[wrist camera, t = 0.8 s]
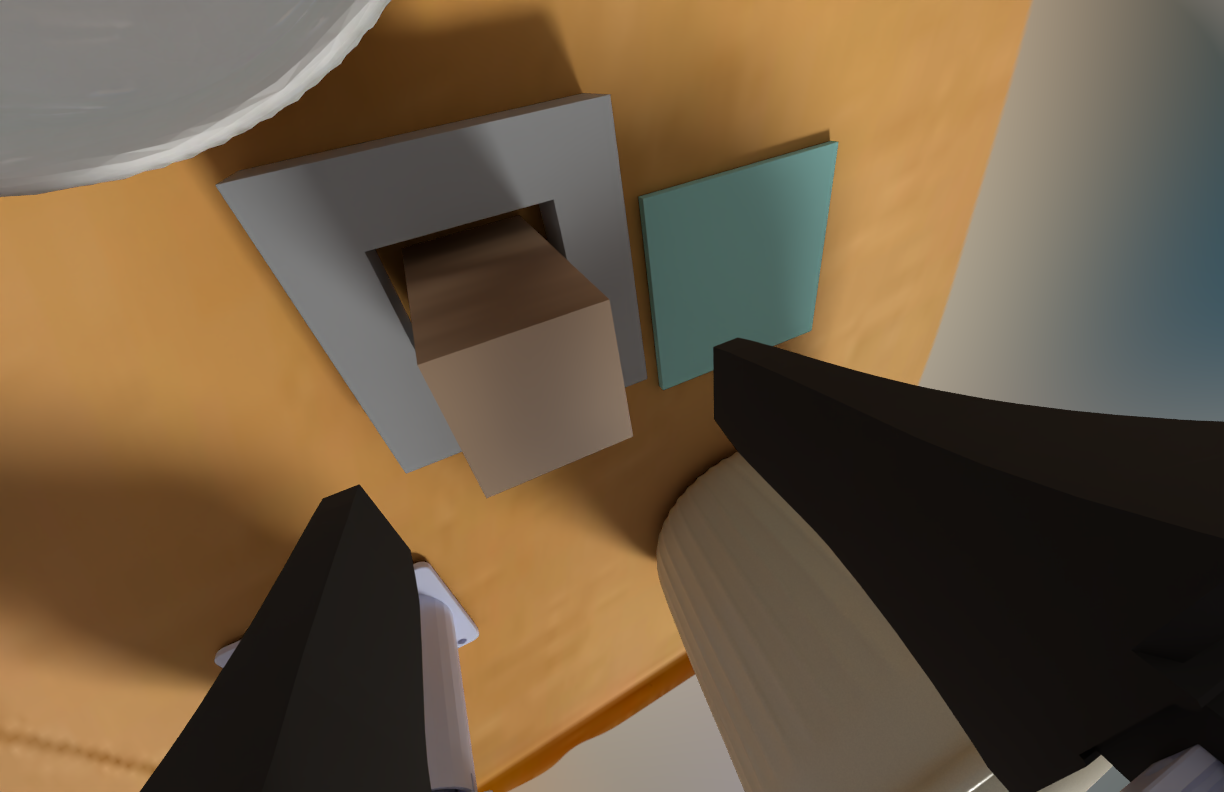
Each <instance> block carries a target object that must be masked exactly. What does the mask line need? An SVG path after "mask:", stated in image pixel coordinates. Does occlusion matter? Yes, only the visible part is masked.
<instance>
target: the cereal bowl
mask: <svg viewBox="0 0 1224 792" xmlns="http://www.w3.org/2000/svg"><path fill="white" fill-rule="evenodd" d="M390 1H391V0H0V197H5V196H21V195H36V194H42V193H47V192H52V191H57V190H63V189H68V188H73V187H78V186H85V185H93V184H97V183H101V182H108V181H115V180H121V179H126V178H129V177H131V176H134V175H136V174H139V173H141V172H144V171H149V170H154V169H159V168H164V167H166V166H168V165H170V164H171V163H174V162H178V161H182V160H186V159H190V158H193V157H194V156H196V155H198V154H199V153H201V152H203V151H205V150H207V149H209V148H212V147H216V146H219V145H223V144H225V143H226V142H227V141H228V140H230V139H231V138H232V137H234V136H237V135H239V134H242V133H244V132H245V131H247V130H249V129H251V128H253V127H254V126H255V125H256V124H258V123H259V122H261V121H264V120H266V119H269V118H272V117H273V116H274V115H275V114H276V113H277V112H279V111H280V110H282V109H283V108H284V107H286V106H288V105H290V104H292V103H294V102H296V101H298V100H299V99H300V98H301V97H302V95H303V94H304V93H305V92H306V91H307V90H309V89H310V88H312V87H314V86H315V85H317V84H318V83H319V82H320V81H321V80H322V78H323V77H324V76H325V75H326V74H327V73H329V72H330V71H331V70H332V69H334V68H335V67H337V66H338V65H340V64H341V63H342V61H343V60H344V58H345V56H346V55H347V54H348V53H349V52H350V51H351V50H352V49H353V48H355V47H356V46H357V45H358V44H359V42H360V40H361V38H362V37H363V35H364V34H365V33H366V32H367V31H368V30H369V29H371V28H373V27H374V25H375V24H376V22H377V20H378V19H379V17H380V15H381V13H382V11H383V10H384V8H385V7H386V6H387V4H388V3H389V2H390Z"/></svg>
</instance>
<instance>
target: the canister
mask: <svg viewBox="0 0 1224 792" xmlns="http://www.w3.org/2000/svg"><path fill="white" fill-rule="evenodd" d="M656 555H657V570H658V576H659V580H660V583H661V586H662V589H663V592H664V595H665V598H666V601H667V603H668V606H669V609H670V611H671V614H672V616H673V619H674V621H675V624H676V626H677V629H678V632H679V634H680V637H681V639H682V642H683V644H684V647H685V649H686V652H687V654H688V657H689V659H690V662H691V664H692V667H693V669H694V672H695V674H696V676H697V679H698V681H699V684H700V686H701V689H702V691H703V693H704V696H705V698H706V700H707V703H708V705H709V707H710V710H711V712H712V715H713V717H714V719H715V722H716V724H717V726H718V729H719V731H720V733H721V736H722V738H723V740H724V742H725V745H726V748H727V750H728V753H729V755H730V757H731V760H732V762H733V765H734V767H735V769H736V772H737V774H738V777H739V779H740V781H741V784H742V786H743V788H744V791H745V792H1009V791H1008V790H1007V789H1006V788H1005V786H1004V785H1003V784H1002V783H1001V782H1000V781H999V780H998V779H997V777H996V776H995V775H994V774H993V773H992V772H991V771H990V770H989V768H988V767H987V765H986V764H985V762H984V761H983V759H982V758H981V756H980V754H979V753H978V751H977V750H976V748H975V747H974V745H973V743H972V742H971V740H970V739H969V737H968V736H967V734H966V733H965V731H964V730H963V728H962V727H961V725H960V724H959V722H958V721H957V719H956V718H955V716H954V715H953V713H952V712H951V710H950V709H949V707H948V706H947V704H946V703H945V701H944V700H943V698H942V697H941V695H940V694H939V692H938V691H937V689H936V688H935V686H934V685H933V684H932V682H931V681H930V679H929V678H928V676H927V675H926V674H925V672H924V671H923V669H922V668H921V667H920V665H919V664H918V663H917V661H916V660H915V658H914V657H913V656H912V654H911V653H910V651H909V650H908V649H907V647H906V646H905V644H904V643H903V642H902V640H901V639H900V637H899V636H898V635H897V633H896V632H895V630H894V629H893V628H892V627H891V625H890V624H889V623H888V621H887V620H886V619H885V617H884V616H883V615H882V613H881V612H880V611H879V609H878V608H877V607H876V606H875V604H874V603H873V602H872V600H871V599H870V598H869V596H868V595H867V594H866V592H865V591H864V590H863V589H862V587H861V586H860V585H859V583H858V582H857V581H856V580H855V578H854V577H853V576H852V575H851V574H850V572H849V571H848V570H847V569H846V567H845V566H844V565H843V564H842V562H841V561H840V560H839V559H838V557H837V556H836V555H835V554H834V552H833V551H832V550H831V549H830V547H829V546H828V545H827V544H826V543H825V542H824V541H823V540H822V539H821V537H820V536H819V535H818V534H817V533H816V532H815V531H814V530H813V529H812V528H811V527H810V526H809V525H808V524H807V523H806V522H805V521H804V519H803V518H802V517H801V516H800V515H799V514H798V513H797V512H796V511H795V510H794V509H793V508H792V507H791V506H790V505H789V504H788V503H787V502H786V501H785V500H784V499H783V498H782V497H781V496H780V495H779V494H778V493H777V492H776V491H775V490H774V489H773V488H772V487H771V486H770V485H769V484H768V483H767V482H766V481H765V480H764V479H763V478H762V477H761V476H760V475H759V474H758V473H757V471H756V470H755V469H754V468H753V467H752V466H751V465H750V464H749V463H748V462H747V461H746V460H745V459H744V458H743V457H742V456H741V455H740V453H739V452H736V453H734V454H733V455H732V456H730V457H729V458H727V459H722V460H721V461H720V462H719V463H718V464H717V465H715V466H713V467H710V468H709V470H708V471H707V472H706V473H705V474H703V475H702V476H699V477H698V478H697V480H696V481H695V482H694V483H693V484H692V485H691V486H689V487H687V489H686V491H685V493H684V494H683V495H682V496H680V497H679V498H678V499H677V503H676V504H675V506H674V507H672V508H671V509H670V511H669V515H668V517H667V518H666V519H665V521H664V522H663V527H662V530H661V532H660V534H659V539H658V545H657V552H656ZM1112 766H1113V765H1112V764H1111V763H1110V762H1108V761H1107V760H1106V759H1105V758H1104V757H1103V756H1102V755H1100V756H1099V757H1098V758H1097V759H1095V760H1094V761H1093V762H1092V763H1091V764H1089V765H1088V766H1087V767H1085V768H1083V769H1081V770H1079V771H1077V772H1075V773H1073V774H1071V775H1069V776H1067V777H1065V778H1063V779H1061V780H1059V781H1057V782H1055V783H1053V784H1051V785H1049V786H1047V787H1045V788H1043V789H1041V790H1039V791H1037V792H1086V791H1087V790H1088V789H1089V788H1090V787H1091V786H1092V785H1093V784H1095V782H1097V781H1098V780H1099V778H1101V777H1102V776H1103V774H1105V773H1106V772H1107V771H1108V770H1109V769H1110V768H1111V767H1112Z"/></svg>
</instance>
